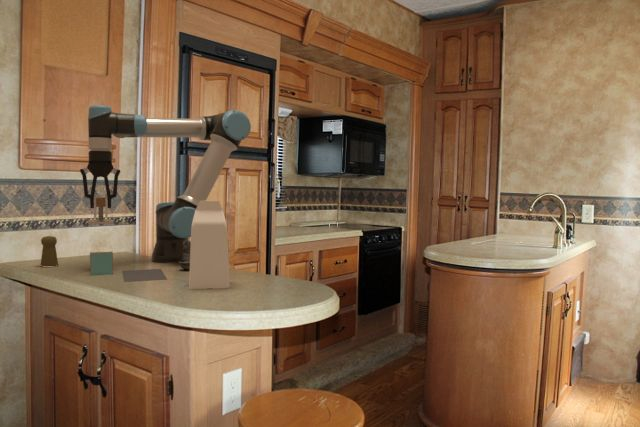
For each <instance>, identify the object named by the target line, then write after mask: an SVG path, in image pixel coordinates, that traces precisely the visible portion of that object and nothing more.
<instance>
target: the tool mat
mask: <svg viewBox="0 0 640 427" xmlns="http://www.w3.org/2000/svg"><path fill="white" fill-rule="evenodd" d="M121 272H122V277H123V282H124V283H131V282H150V281H166V280H167V281H168V280H169V279H168V278H167V277H166V274H165V273H164V272H163V270H162V269H161V268H153V269H132V270H131V269H130V270H129V269H128V270H122V271H121Z"/></svg>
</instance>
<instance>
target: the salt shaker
mask: <svg viewBox="0 0 640 427" xmlns="http://www.w3.org/2000/svg"><path fill="white" fill-rule="evenodd" d="M188 238H189V237H188ZM188 238H186V240H185V241H184V242H183V250H182V252H183V258H182V260H181V261H179V262H178V263H179V267H180V268H181V269H183V271H190V247H191V240H189V239H188Z"/></svg>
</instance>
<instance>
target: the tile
mask: <svg viewBox="0 0 640 427" xmlns="http://www.w3.org/2000/svg"><path fill="white" fill-rule="evenodd" d="M113 261H114V251H93V252H92V251H90V252H89V270H90V271H89V274H90V276H102V275H113V274H114V262H113Z"/></svg>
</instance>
